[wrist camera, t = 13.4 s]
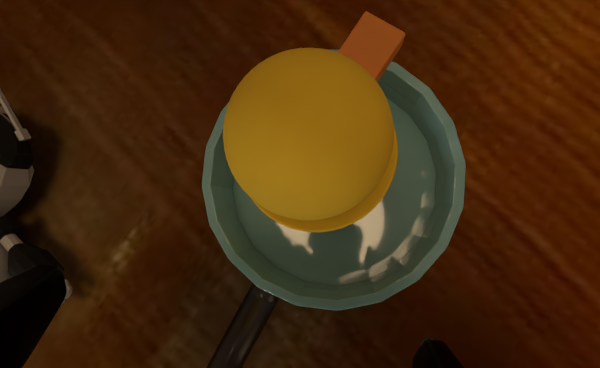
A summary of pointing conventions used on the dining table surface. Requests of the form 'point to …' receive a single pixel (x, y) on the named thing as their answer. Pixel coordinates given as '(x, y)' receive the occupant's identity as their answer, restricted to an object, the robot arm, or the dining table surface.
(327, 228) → the duck toy
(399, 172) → the pan
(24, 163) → the robot toy
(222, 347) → the pan handle
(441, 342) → the robot arm
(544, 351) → the dining table surface
